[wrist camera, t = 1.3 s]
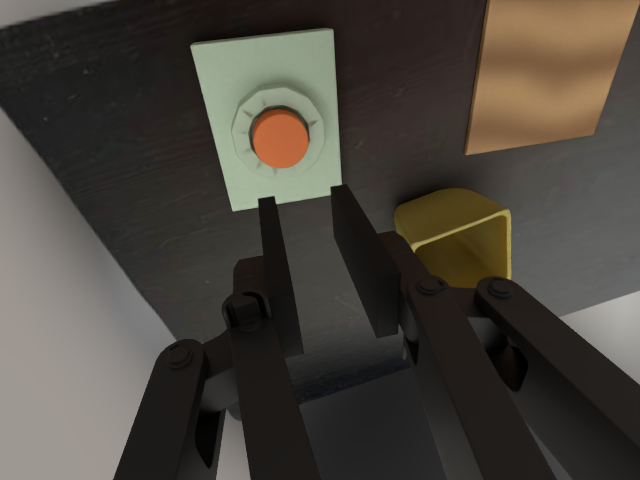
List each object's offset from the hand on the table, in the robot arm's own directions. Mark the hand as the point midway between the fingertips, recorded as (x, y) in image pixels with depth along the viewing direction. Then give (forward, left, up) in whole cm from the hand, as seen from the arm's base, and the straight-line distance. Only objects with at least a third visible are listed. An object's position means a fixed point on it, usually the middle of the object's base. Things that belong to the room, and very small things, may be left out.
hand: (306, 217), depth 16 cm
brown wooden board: (-2, +25, -17) cm, 30 cm away
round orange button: (0, 0, -13) cm, 13 cm away
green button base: (0, 0, -17) cm, 17 cm away
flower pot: (+12, +14, -17) cm, 25 cm away
